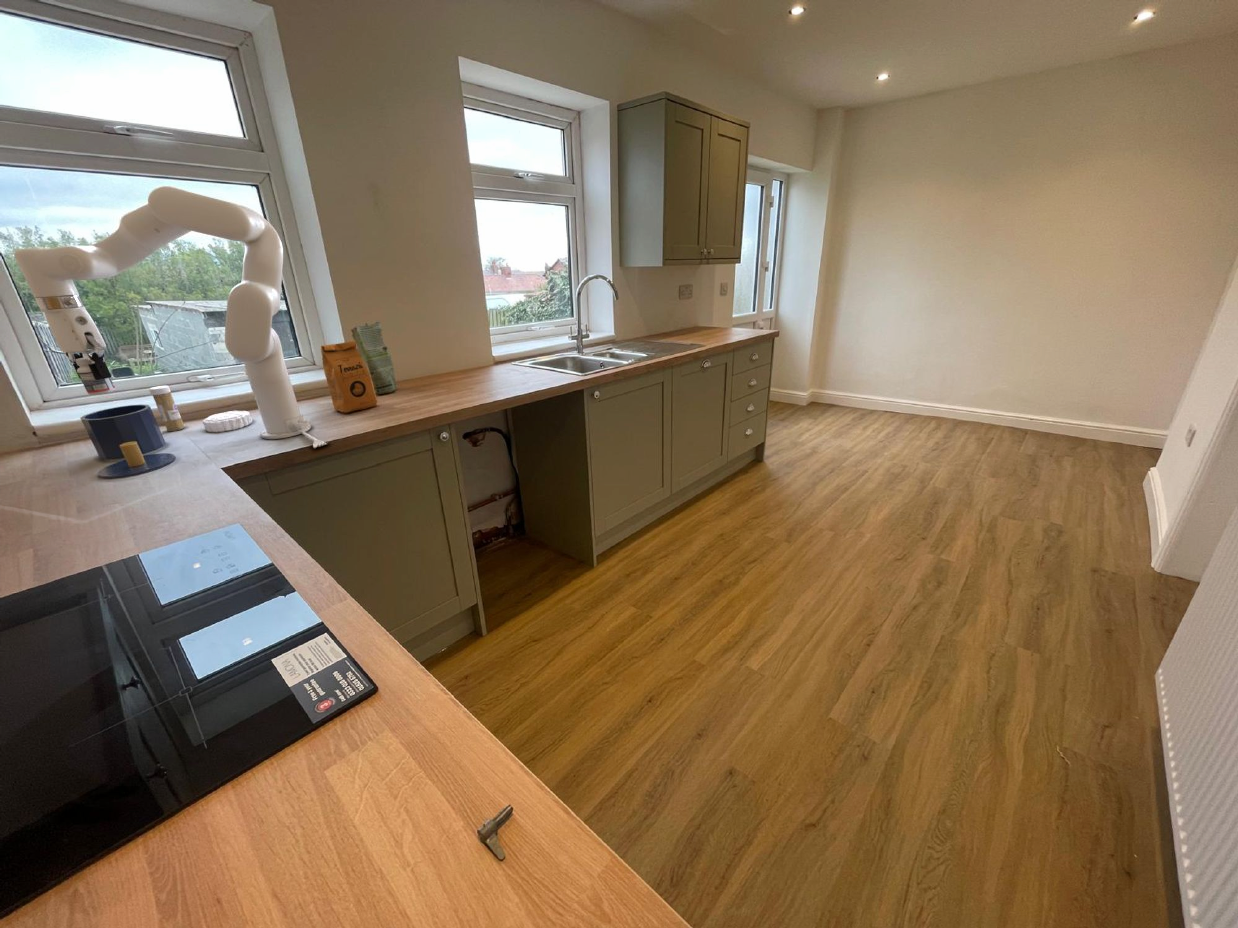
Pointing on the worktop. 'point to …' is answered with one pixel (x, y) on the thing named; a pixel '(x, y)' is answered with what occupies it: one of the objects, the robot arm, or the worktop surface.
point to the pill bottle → (93, 379)
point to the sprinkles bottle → (167, 408)
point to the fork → (314, 440)
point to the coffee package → (347, 377)
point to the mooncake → (227, 421)
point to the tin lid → (135, 462)
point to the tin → (123, 430)
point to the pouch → (375, 357)
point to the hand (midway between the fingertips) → (95, 377)
